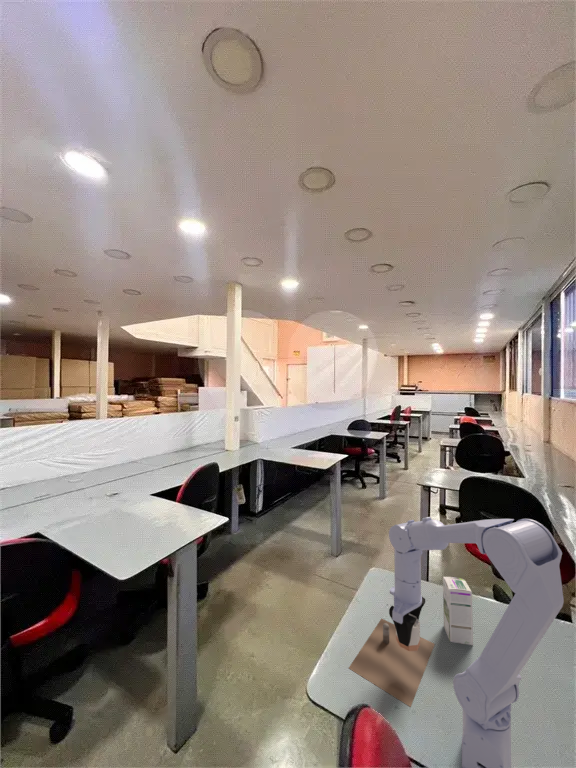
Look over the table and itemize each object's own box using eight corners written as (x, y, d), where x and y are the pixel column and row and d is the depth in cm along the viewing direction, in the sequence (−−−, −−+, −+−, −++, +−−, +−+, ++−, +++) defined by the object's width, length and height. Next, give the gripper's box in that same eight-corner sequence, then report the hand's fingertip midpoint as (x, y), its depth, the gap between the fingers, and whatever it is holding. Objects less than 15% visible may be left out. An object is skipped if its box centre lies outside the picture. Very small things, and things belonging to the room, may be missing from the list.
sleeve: (415, 654, 67) (415, 631, 67) (393, 643, 70) (393, 621, 70) (421, 640, 71) (421, 618, 71) (400, 630, 74) (400, 609, 74)
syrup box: (474, 649, 78) (473, 591, 78) (449, 645, 79) (448, 588, 79) (466, 632, 83) (465, 578, 84) (442, 628, 84) (442, 575, 85)
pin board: (410, 712, 62) (410, 684, 62) (348, 672, 71) (348, 648, 71) (434, 647, 78) (434, 626, 78) (381, 621, 87) (381, 602, 87)
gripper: (400, 557, 79) (400, 610, 79) (378, 584, 68) (378, 647, 67) (429, 566, 75) (430, 623, 74) (411, 598, 63) (411, 665, 63)
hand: (407, 635), depth 71 cm, fingers closed on sleeve, 5 cm apart
